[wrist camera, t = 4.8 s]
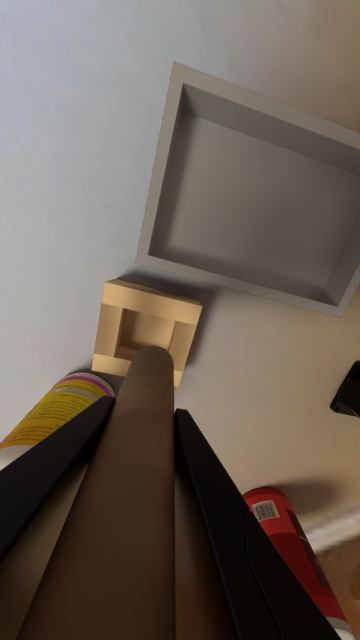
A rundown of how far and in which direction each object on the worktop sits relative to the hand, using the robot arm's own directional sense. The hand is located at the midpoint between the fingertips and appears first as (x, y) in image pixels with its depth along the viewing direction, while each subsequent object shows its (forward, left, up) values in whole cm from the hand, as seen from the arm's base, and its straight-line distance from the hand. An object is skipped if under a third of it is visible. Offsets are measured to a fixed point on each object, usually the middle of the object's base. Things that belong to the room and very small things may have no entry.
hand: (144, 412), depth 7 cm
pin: (0, 0, -3) cm, 3 cm away
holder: (+1, +1, -13) cm, 13 cm away
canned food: (-20, +24, -13) cm, 34 cm away
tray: (-6, -11, -13) cm, 18 cm away
